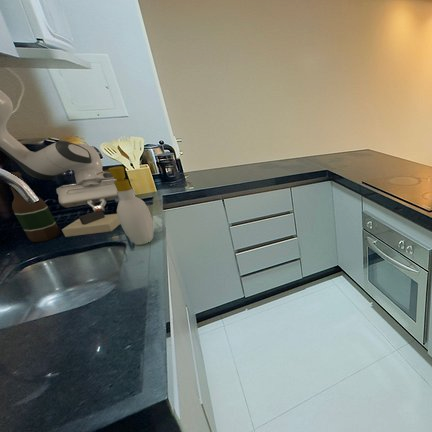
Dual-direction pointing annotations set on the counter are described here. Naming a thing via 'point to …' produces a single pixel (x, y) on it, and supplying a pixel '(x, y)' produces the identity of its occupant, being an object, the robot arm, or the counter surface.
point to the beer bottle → (34, 217)
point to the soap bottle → (131, 210)
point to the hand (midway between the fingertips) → (99, 210)
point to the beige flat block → (92, 226)
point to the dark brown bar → (91, 217)
